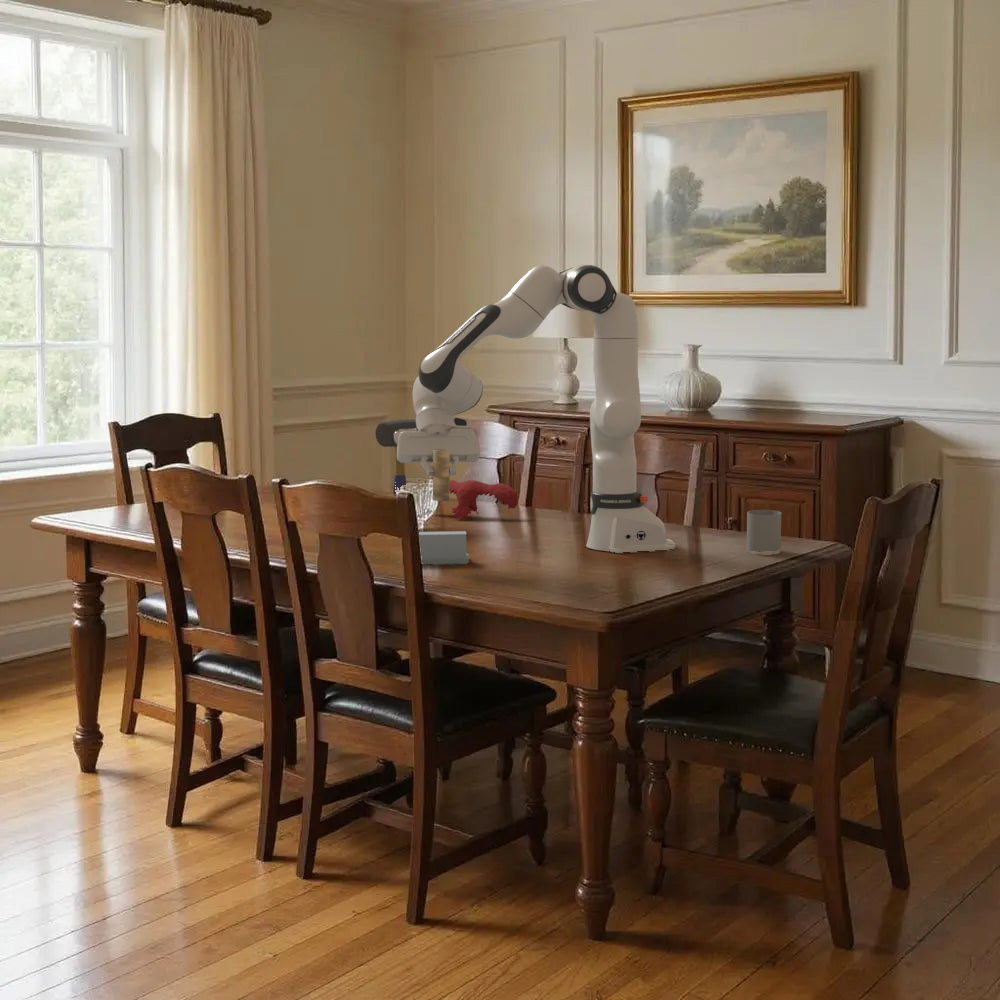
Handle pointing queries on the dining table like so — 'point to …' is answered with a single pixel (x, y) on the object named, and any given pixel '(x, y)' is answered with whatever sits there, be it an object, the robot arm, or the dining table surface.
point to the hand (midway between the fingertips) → (441, 473)
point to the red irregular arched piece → (472, 489)
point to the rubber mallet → (394, 444)
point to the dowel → (441, 474)
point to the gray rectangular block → (443, 547)
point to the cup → (763, 530)
